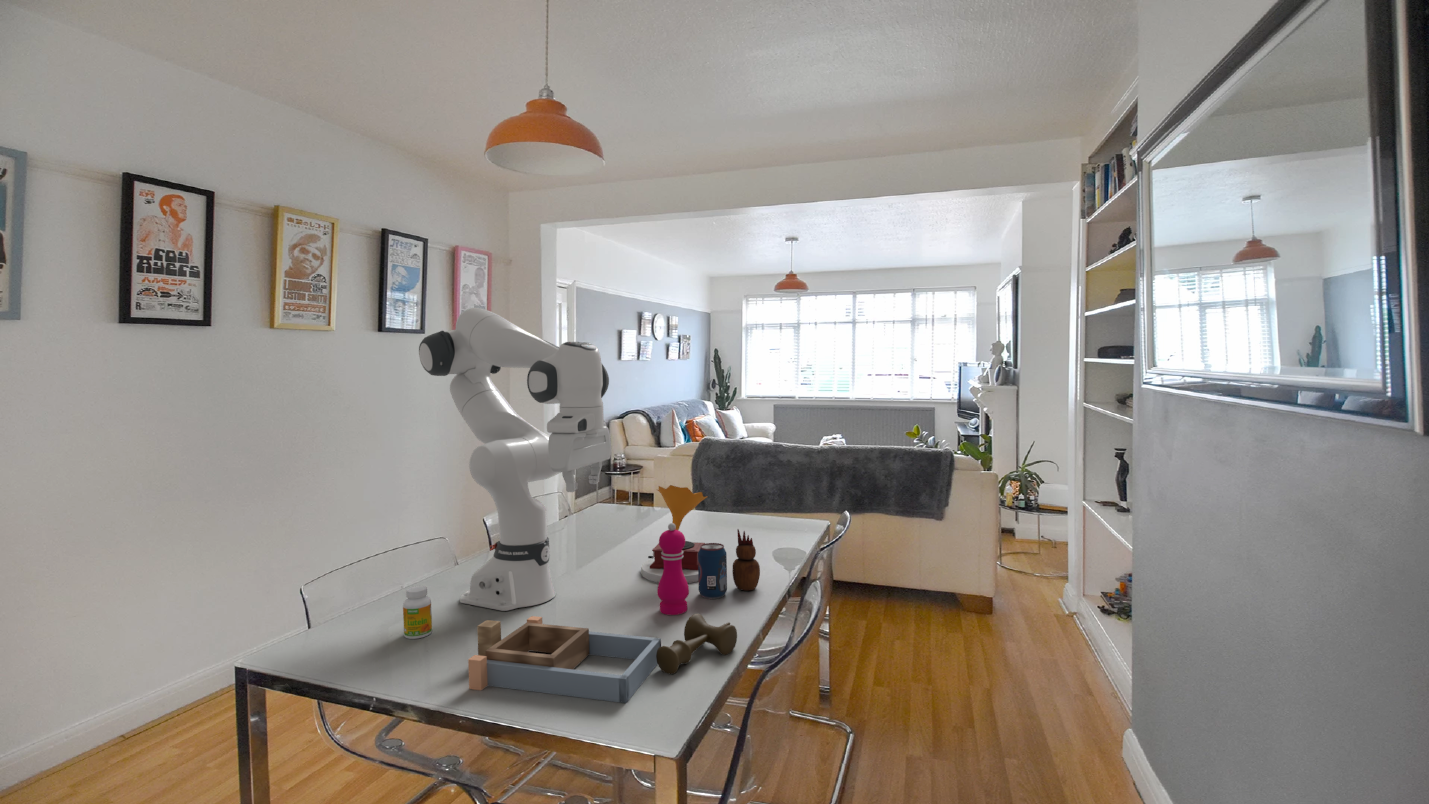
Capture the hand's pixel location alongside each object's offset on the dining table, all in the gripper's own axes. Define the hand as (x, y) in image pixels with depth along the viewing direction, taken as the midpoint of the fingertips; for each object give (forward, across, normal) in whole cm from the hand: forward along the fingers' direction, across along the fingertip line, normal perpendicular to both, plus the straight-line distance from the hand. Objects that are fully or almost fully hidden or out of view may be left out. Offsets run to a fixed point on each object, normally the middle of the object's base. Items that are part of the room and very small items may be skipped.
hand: (583, 487), depth 134 cm
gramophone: (+31, -44, +4) cm, 54 cm away
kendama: (+31, +4, +26) cm, 41 cm away
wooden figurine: (+31, -35, +26) cm, 53 cm away
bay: (+30, +17, +6) cm, 35 cm away
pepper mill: (+31, -17, +13) cm, 37 cm away
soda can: (+31, -29, +19) cm, 46 cm away
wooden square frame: (+30, +17, -3) cm, 35 cm away
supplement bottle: (+31, +10, -34) cm, 47 cm away
